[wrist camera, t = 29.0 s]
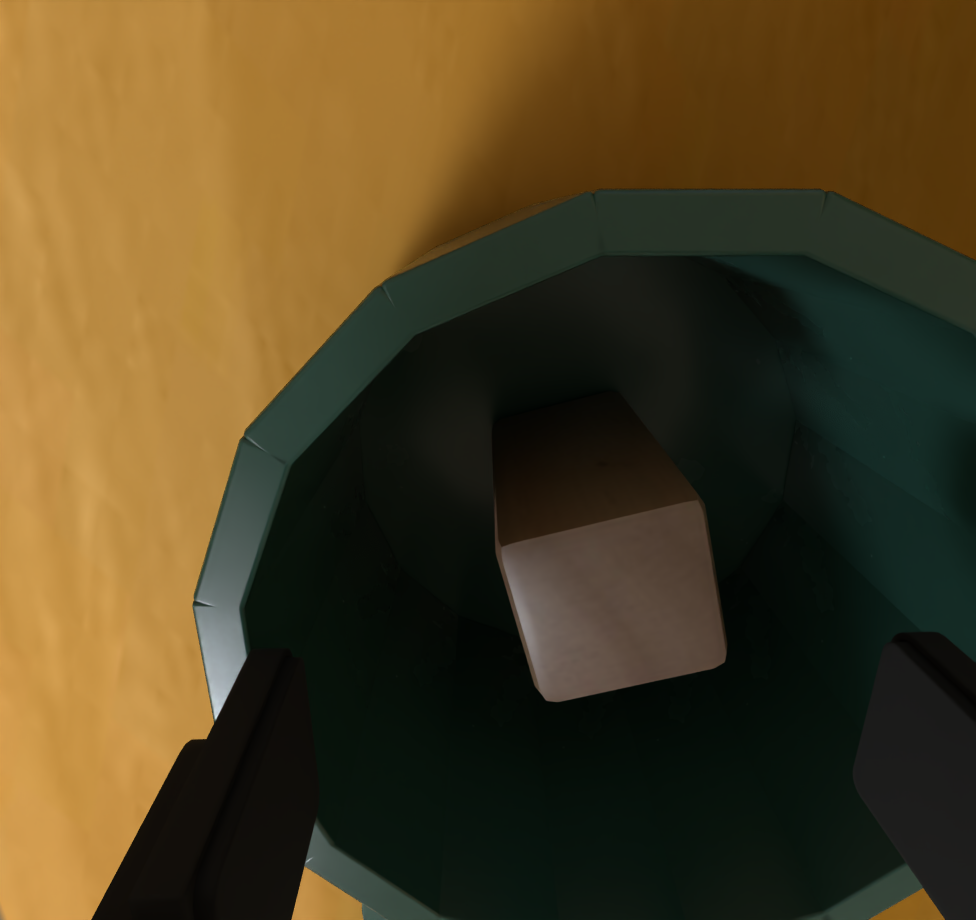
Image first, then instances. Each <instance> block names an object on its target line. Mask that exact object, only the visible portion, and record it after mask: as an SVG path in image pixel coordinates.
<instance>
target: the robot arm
mask: <svg viewBox="0 0 976 920" xmlns="http://www.w3.org/2000/svg"><path fill="white" fill-rule="evenodd" d="M853 780H854V784H855V787H856V789H857V792H858V793H859V795H860V797H861V798H862V800H863V801H864V802H865V804H866V805H867V807H868V808H869V810H870V811H871V813H872V814H873V816H874V817H875V818H876V820H877V821H878V823H879V824H880V826H881V827H882V829H883V830H884V831H885V833H886V834H887V836H888V837H889V839H890V840H891V842H892V843H893V845H894V846H895V847H896V849H897V850H898V852H899V853H900V855H901V856H902V858H903V859H904V860H905V862H906V863H907V865H908V866H909V868H910V869H911V871H912V872H913V874H914V875H915V876H916V878H917V879H918V881H919V882H920V884H921V885H922V887H923V888H924V889H925V891H926V892H927V894H928V895H929V897H930V898H931V900H932V901H933V903H934V904H935V905H936V907H937V908H938V910H939V911H940V913H941V914H942V916H943V917H944V918H945V920H976V663H975V662H974V661H973V660H972V659H971V658H969V657H968V656H967V655H966V654H965V653H964V652H962V651H961V650H960V649H959V648H958V647H957V646H956V645H954V644H953V643H952V642H951V641H950V640H949V639H947V638H946V637H945V636H944V635H942V634H940V633H938V632H901V633H898V634H896V635H895V636H894V637H893V638H892V641H891V642H888V643H886V644H885V645H884V647H883V650H882V653H881V657H880V661H879V665H878V669H877V673H876V677H875V682H874V686H873V690H872V694H871V698H870V702H869V706H868V710H867V714H866V718H865V722H864V726H863V730H862V734H861V738H860V742H859V746H858V750H857V754H856V758H855V762H854V767H853ZM318 806H319V779H318V771H317V763H316V755H315V747H314V738H313V730H312V722H311V714H310V706H309V697H308V689H307V681H306V673H305V665H304V660H303V658H302V657H293V656H292V652H291V650H290V649H289V648H263V649H252V650H251V651H250V652H249V654H248V656H247V658H246V660H245V662H244V664H243V666H242V668H241V670H240V672H239V674H238V676H237V678H236V680H235V682H234V684H233V686H232V688H231V690H230V692H229V694H228V696H227V698H226V700H225V702H224V705H223V707H222V709H221V711H220V713H219V715H218V717H217V719H216V721H215V723H214V725H213V727H212V729H211V731H210V733H209V735H208V737H207V739H198V740H190V741H189V742H188V743H186V744H185V746H184V747H183V749H182V750H181V752H180V753H179V755H178V757H177V759H176V761H175V763H174V765H173V767H172V768H171V770H170V772H169V774H168V776H167V778H166V780H165V782H164V784H163V785H162V787H161V789H160V791H159V793H158V795H157V797H156V799H155V801H154V802H153V804H152V806H151V808H150V810H149V812H148V814H147V816H146V818H145V819H144V821H143V823H142V825H141V827H140V829H139V831H138V833H137V835H136V836H135V838H134V840H133V842H132V844H131V846H130V848H129V850H128V852H127V853H126V855H125V857H124V859H123V861H122V863H121V865H120V867H119V869H118V870H117V872H116V874H115V876H114V878H113V880H112V882H111V884H110V885H109V887H108V889H107V891H106V893H105V895H104V897H103V899H102V901H101V902H100V904H99V906H98V908H97V910H96V912H95V914H94V916H93V918H92V919H91V920H291V919H292V915H293V911H294V907H295V902H296V898H297V894H298V890H299V886H300V882H301V878H302V874H303V870H304V866H305V862H306V857H307V853H308V849H309V845H310V841H311V837H312V833H313V829H314V825H315V821H316V816H317V812H318Z"/></svg>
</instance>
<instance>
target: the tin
mask: <svg viewBox="0 0 976 920" xmlns="http://www.w3.org/2000/svg"><path fill="white" fill-rule="evenodd" d="M608 391H612V392H620V394H621V395H622V396H623V397H624V399H625V400H626V401H627V403H628V404H629V405H630V407H631V408H632V409H633V410H634V412H635V413H636V414H637V416H638V417H639V418H640V419H641V421H642V422H643V423H644V425H645V426H646V427H647V429H648V430H649V431H650V432H651V434H652V435H653V436H654V438H655V439H656V440H657V442H658V443H659V444H660V445H661V447H662V448H663V449H664V451H665V452H666V453H667V455H668V456H669V457H670V458H671V460H672V461H673V462H674V464H675V465H676V466H677V468H678V469H679V470H680V471H681V473H682V474H683V475H684V477H685V478H686V479H687V481H688V482H689V483H690V484H691V486H692V487H693V488H694V490H695V491H696V492H697V494H698V495H699V496H700V498H701V499H702V501H703V502H704V504H705V508H706V514H707V520H708V527H709V533H710V539H711V545H712V551H713V557H714V563H715V570H716V576H717V582H718V588H719V594H720V600H721V606H722V613H723V619H724V625H725V631H726V637H727V643H728V645H727V655H726V659H725V662H724V663H722V664H721V665H719V666H717V667H716V668H714V669H709V670H705V671H700V672H695V673H691V674H686V675H681V676H677V677H672V678H668V679H663V680H658V681H654V682H649V683H644V684H640V685H635V686H631V687H626V688H621V689H617V690H612V691H607V692H603V693H598V694H594V695H589V696H584V697H580V698H575V699H570V700H566V701H561V702H552V701H546V700H545V698H544V697H543V696H542V694H541V693H540V692H539V691H538V689H537V688H536V687H535V685H534V682H533V678H532V675H531V672H530V668H529V665H528V661H527V658H526V655H525V651H524V648H523V644H522V641H521V638H520V634H519V631H518V628H517V624H516V621H515V617H514V614H513V611H512V607H511V604H510V600H509V597H508V594H507V590H506V587H505V584H504V580H503V577H502V573H501V570H500V567H499V563H498V560H497V556H496V548H495V519H494V491H493V462H492V428H493V424H495V423H496V422H498V421H499V420H500V419H502V418H506V417H510V416H514V415H518V414H522V413H526V412H530V411H534V410H538V409H541V408H545V407H549V406H553V405H557V404H561V403H565V402H569V401H573V400H577V399H580V398H584V397H588V396H592V395H596V394H600V393H604V392H608ZM193 611H194V617H195V622H196V627H197V633H198V638H199V644H200V649H201V654H202V660H203V665H204V670H205V676H206V681H207V686H208V692H209V697H210V702H211V708H212V713H213V719H214V723H215V721H216V719H217V717H218V715H219V713H220V711H221V709H222V707H223V705H224V702H225V700H226V698H227V696H228V694H229V692H230V690H231V688H232V686H233V684H234V682H235V680H236V678H237V676H238V674H239V672H240V670H241V668H242V666H243V664H244V662H245V660H246V658H247V656H248V654H249V652H250V651H251V650H252V649H263V648H289V649H290V650H291V652H292V656H293V657H302V658H303V660H304V665H305V673H306V681H307V689H308V697H309V706H310V714H311V722H312V730H313V738H314V747H315V755H316V763H317V771H318V779H319V806H318V812H317V816H316V821H315V825H314V829H313V833H312V837H311V841H310V845H309V849H308V853H307V857H306V862H305V867H307V868H308V869H310V870H311V871H313V872H314V873H316V874H317V875H319V876H321V877H322V878H324V879H325V880H327V881H328V882H330V883H331V884H333V885H334V886H336V887H338V888H339V889H341V890H342V891H344V892H345V893H347V894H348V895H350V896H352V897H353V898H355V899H356V900H358V901H359V902H361V903H362V904H364V905H365V906H367V907H369V908H370V909H372V910H373V911H375V912H376V913H378V914H379V915H381V916H382V917H384V918H386V919H387V920H869V919H870V918H872V917H874V916H875V915H877V914H879V913H881V912H882V911H884V910H886V909H888V908H889V907H891V906H893V905H894V904H896V903H898V902H900V901H901V900H903V899H905V898H907V897H908V896H910V895H912V894H913V893H915V892H917V891H919V890H920V889H922V888H923V887H922V885H921V884H920V882H919V881H918V879H917V878H916V876H915V875H914V874H913V872H912V871H911V869H910V868H909V866H908V865H907V863H906V862H905V860H904V859H903V858H902V856H901V855H900V853H899V852H898V850H897V849H896V847H895V846H894V845H893V843H892V842H891V840H890V839H889V837H888V836H887V834H886V833H885V831H884V830H883V829H882V827H881V826H880V824H879V823H878V821H877V820H876V818H875V817H874V816H873V814H872V813H871V811H870V810H869V808H868V807H867V805H866V804H865V802H864V801H863V800H862V798H861V797H860V795H859V793H858V792H857V789H856V787H855V784H854V780H853V767H854V762H855V758H856V754H857V750H858V746H859V742H860V738H861V734H862V730H863V726H864V722H865V718H866V714H867V710H868V706H869V702H870V698H871V694H872V690H873V686H874V682H875V677H876V673H877V669H878V665H879V661H880V657H881V653H882V650H883V647H884V645H885V644H886V643H888V642H891V641H892V638H893V637H894V636H895V635H896V634H898V633H901V632H938V633H940V634H942V635H944V636H945V637H946V638H947V639H949V640H950V641H951V642H952V643H953V644H954V645H956V646H957V647H958V648H959V649H960V650H961V651H962V652H964V653H965V654H966V655H967V656H968V657H969V658H971V659H972V660H973V661H974V662H975V663H976V260H974V259H972V258H970V257H968V256H966V255H964V254H961V253H959V252H957V251H955V250H953V249H951V248H949V247H947V246H945V245H943V244H941V243H939V242H937V241H935V240H933V239H931V238H929V237H926V236H924V235H922V234H920V233H918V232H916V231H914V230H912V229H910V228H908V227H906V226H904V225H902V224H900V223H898V222H896V221H894V220H892V219H889V218H887V217H885V216H883V215H881V214H879V213H877V212H875V211H873V210H871V209H869V208H867V207H865V206H863V205H861V204H859V203H857V202H854V201H852V200H850V199H848V198H846V197H844V196H842V195H840V194H838V193H836V192H834V191H824V190H822V189H597V190H593V191H586V192H582V193H578V194H574V195H569V196H565V197H561V198H557V199H553V200H549V201H544V202H540V203H536V204H532V205H529V206H527V207H525V208H523V209H520V210H518V211H516V212H514V213H511V214H509V215H507V216H505V217H502V218H500V219H498V220H495V221H493V222H491V223H489V224H486V225H484V226H482V227H480V228H477V229H475V230H473V231H471V232H468V233H466V234H464V235H462V236H459V237H457V238H455V239H452V240H450V241H448V242H446V243H443V244H441V245H439V246H437V247H435V248H434V249H432V250H430V251H429V252H427V253H426V254H424V255H423V256H421V257H420V258H418V259H417V260H415V261H413V262H412V263H410V264H409V265H407V266H406V267H404V268H403V269H401V270H399V271H398V272H396V273H395V274H393V275H392V276H390V277H389V278H387V279H386V280H384V281H383V282H382V283H381V284H379V285H378V286H376V287H375V288H374V289H373V290H372V291H371V292H370V293H369V294H368V295H367V297H366V298H365V299H364V300H363V301H362V302H361V303H360V304H359V305H358V306H357V308H356V309H355V310H354V311H353V312H352V313H351V314H350V315H349V316H348V317H347V319H346V320H345V321H344V322H343V323H342V324H341V325H340V326H339V327H338V328H337V330H336V331H335V332H334V333H333V334H332V335H331V336H330V337H329V338H328V339H327V341H326V342H325V343H324V344H323V345H322V346H321V347H320V348H319V349H318V350H317V351H316V353H315V354H314V355H313V356H312V357H311V358H310V359H309V360H308V361H307V362H306V364H305V365H304V366H303V367H302V368H301V369H300V370H299V371H298V372H297V373H296V375H295V376H294V377H293V378H292V379H291V380H290V381H289V382H288V383H287V384H286V386H285V387H284V388H283V389H282V390H281V391H280V392H279V393H278V394H277V395H276V396H275V398H274V399H273V400H272V401H271V402H270V403H269V404H268V405H267V406H266V407H265V409H264V410H263V411H262V412H261V413H260V414H259V415H258V416H257V417H256V418H255V420H254V421H253V422H252V423H251V424H250V425H249V426H248V427H247V428H246V429H245V432H244V436H243V437H242V438H241V439H240V440H239V443H238V447H237V450H236V454H235V457H234V460H233V464H232V467H231V471H230V474H229V477H228V481H227V484H226V487H225V491H224V494H223V498H222V501H221V504H220V508H219V511H218V515H217V518H216V521H215V525H214V528H213V531H212V535H211V538H210V542H209V545H208V548H207V552H206V555H205V559H204V562H203V565H202V569H201V572H200V575H199V579H198V582H197V586H196V589H195V592H194V601H193Z"/></svg>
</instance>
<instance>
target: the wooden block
mask: <svg viewBox="0 0 976 920" xmlns="http://www.w3.org/2000/svg"><path fill="white" fill-rule="evenodd" d="M492 462H493V491H494V519H495V548H496V556H497V560H498V563H499V567H500V570H501V573H502V577H503V580H504V584H505V587H506V590H507V594H508V597H509V600H510V604H511V607H512V611H513V614H514V617H515V621H516V624H517V628H518V631H519V634H520V638H521V641H522V644H523V648H524V651H525V655H526V658H527V661H528V665H529V668H530V672H531V675H532V678H533V682H534V685H535V687H536V688H537V689H538V691H539V692H540V693H541V694H542V696H543V697H544V698H545V700H546V701H552V702H561V701H566V700H570V699H575V698H580V697H584V696H589V695H594V694H598V693H603V692H607V691H612V690H617V689H621V688H626V687H631V686H635V685H640V684H644V683H649V682H654V681H658V680H663V679H668V678H672V677H677V676H681V675H686V674H691V673H695V672H700V671H705V670H709V669H714V668H716V667H717V666H719V665H721V664H722V663H724V662H725V659H726V655H727V645H728V643H727V637H726V631H725V625H724V619H723V613H722V606H721V600H720V594H719V588H718V582H717V576H716V570H715V563H714V557H713V551H712V545H711V539H710V533H709V527H708V520H707V514H706V508H705V504H704V502H703V501H702V499H701V498H700V496H699V495H698V494H697V492H696V491H695V490H694V488H693V487H692V486H691V484H690V483H689V482H688V481H687V479H686V478H685V477H684V475H683V474H682V473H681V471H680V470H679V469H678V468H677V466H676V465H675V464H674V462H673V461H672V460H671V458H670V457H669V456H668V455H667V453H666V452H665V451H664V449H663V448H662V447H661V445H660V444H659V443H658V442H657V440H656V439H655V438H654V436H653V435H652V434H651V432H650V431H649V430H648V429H647V427H646V426H645V425H644V423H643V422H642V421H641V419H640V418H639V417H638V416H637V414H636V413H635V412H634V410H633V409H632V408H631V407H630V405H629V404H628V403H627V401H626V400H625V399H624V397H623V396H622V395H621V394H620V392H612V391H608V392H604V393H600V394H596V395H592V396H588V397H584V398H580V399H577V400H573V401H569V402H565V403H561V404H557V405H553V406H549V407H545V408H541V409H538V410H534V411H530V412H526V413H522V414H518V415H514V416H510V417H506V418H502V419H500V420H499V421H498V422H496V423H495V424H493V428H492Z"/></svg>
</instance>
